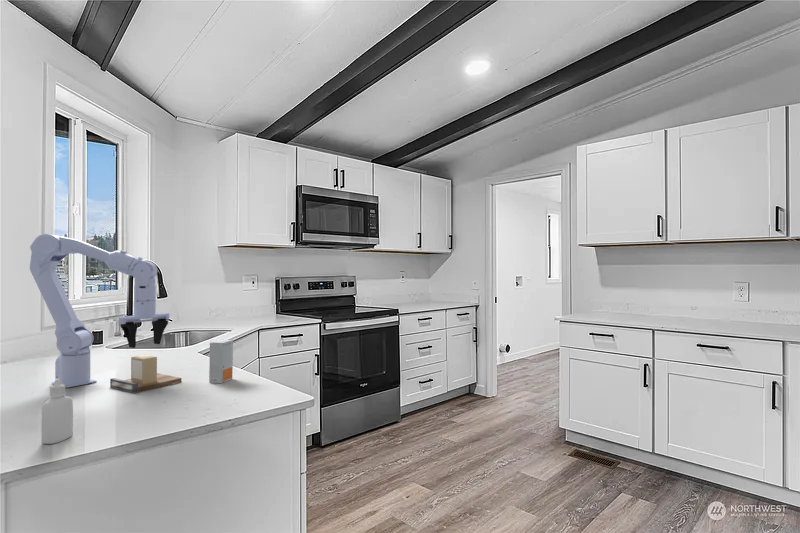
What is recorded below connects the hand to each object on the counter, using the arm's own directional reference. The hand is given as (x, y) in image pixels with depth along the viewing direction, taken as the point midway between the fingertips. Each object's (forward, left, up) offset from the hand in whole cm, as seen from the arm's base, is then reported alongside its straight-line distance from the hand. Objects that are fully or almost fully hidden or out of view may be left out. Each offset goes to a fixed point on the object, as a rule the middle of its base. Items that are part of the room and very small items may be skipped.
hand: (144, 345), depth 140 cm
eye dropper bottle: (+33, -37, -11) cm, 51 cm away
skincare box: (+21, +11, -11) cm, 26 cm away
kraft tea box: (+6, -4, -9) cm, 12 cm away
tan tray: (+6, -3, -10) cm, 12 cm away
